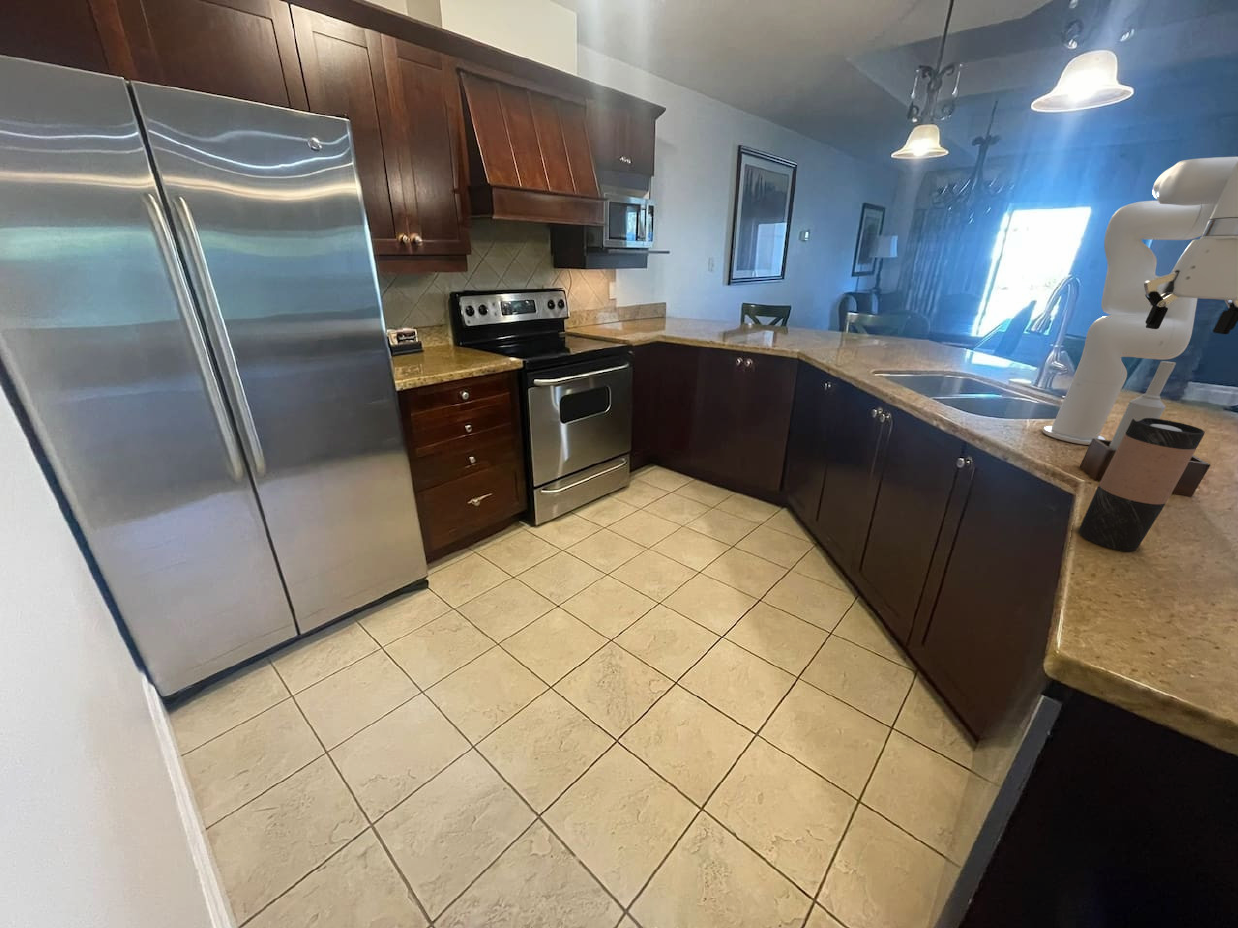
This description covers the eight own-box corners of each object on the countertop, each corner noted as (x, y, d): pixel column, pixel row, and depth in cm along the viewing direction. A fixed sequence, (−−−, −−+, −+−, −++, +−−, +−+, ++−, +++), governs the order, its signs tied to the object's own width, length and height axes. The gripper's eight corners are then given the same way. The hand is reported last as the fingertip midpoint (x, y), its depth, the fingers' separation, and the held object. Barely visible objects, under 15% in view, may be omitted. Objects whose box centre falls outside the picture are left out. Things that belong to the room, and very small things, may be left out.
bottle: (1133, 483, 100) (1196, 365, 90) (1105, 480, 101) (1164, 363, 91) (1115, 473, 104) (1172, 360, 94) (1088, 470, 105) (1142, 358, 95)
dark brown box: (1079, 466, 107) (1092, 438, 105) (1169, 481, 102) (1186, 451, 99) (1094, 480, 101) (1109, 449, 98) (1192, 496, 95) (1210, 464, 92)
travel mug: (1146, 558, 73) (1217, 437, 65) (1081, 542, 77) (1141, 426, 69) (1130, 536, 79) (1193, 423, 71) (1071, 522, 83) (1124, 413, 75)
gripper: (1288, 233, 83) (1234, 333, 90) (1158, 231, 89) (1117, 325, 96) (1324, 230, 77) (1263, 337, 84) (1181, 228, 83) (1135, 328, 90)
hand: (1185, 330), depth 90 cm, fingers open, 9 cm apart
